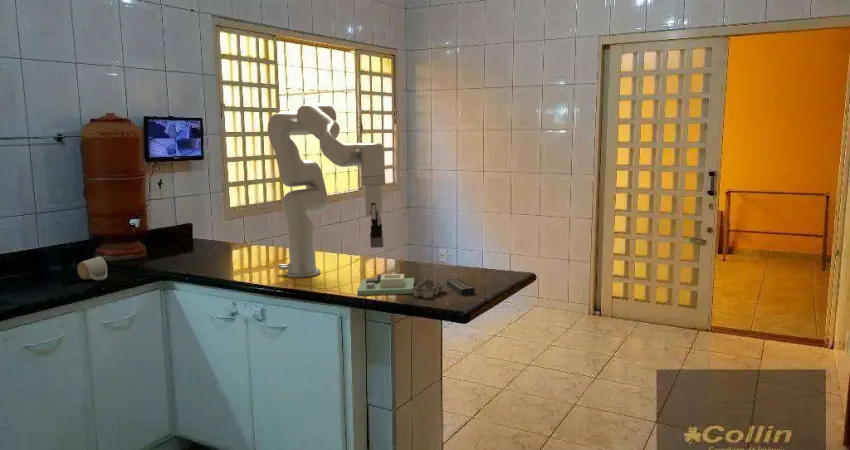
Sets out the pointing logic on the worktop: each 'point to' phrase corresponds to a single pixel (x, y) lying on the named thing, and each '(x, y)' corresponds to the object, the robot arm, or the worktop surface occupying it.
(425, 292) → the egg carton
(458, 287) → the multiport hub
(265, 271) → the worktop surface
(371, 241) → the plug
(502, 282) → the worktop surface
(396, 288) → the board
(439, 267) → the worktop surface
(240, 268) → the worktop surface
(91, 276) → the ceramic mug
